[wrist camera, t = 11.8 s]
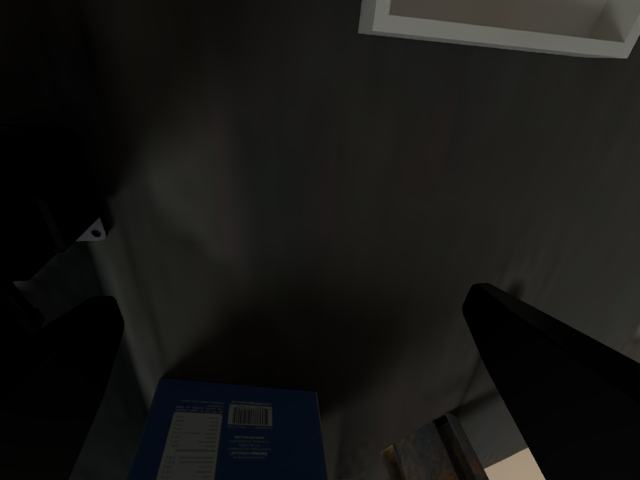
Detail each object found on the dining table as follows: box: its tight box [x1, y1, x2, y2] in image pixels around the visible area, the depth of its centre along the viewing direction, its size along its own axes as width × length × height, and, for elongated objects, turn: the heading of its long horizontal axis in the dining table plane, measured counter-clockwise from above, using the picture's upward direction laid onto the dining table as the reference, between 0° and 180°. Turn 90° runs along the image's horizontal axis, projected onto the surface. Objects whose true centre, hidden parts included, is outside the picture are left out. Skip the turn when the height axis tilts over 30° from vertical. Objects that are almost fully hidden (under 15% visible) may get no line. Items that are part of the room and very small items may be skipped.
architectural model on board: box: [380, 412, 489, 480], centre depth 36 cm, size 11×3×10 cm, turn 137°
